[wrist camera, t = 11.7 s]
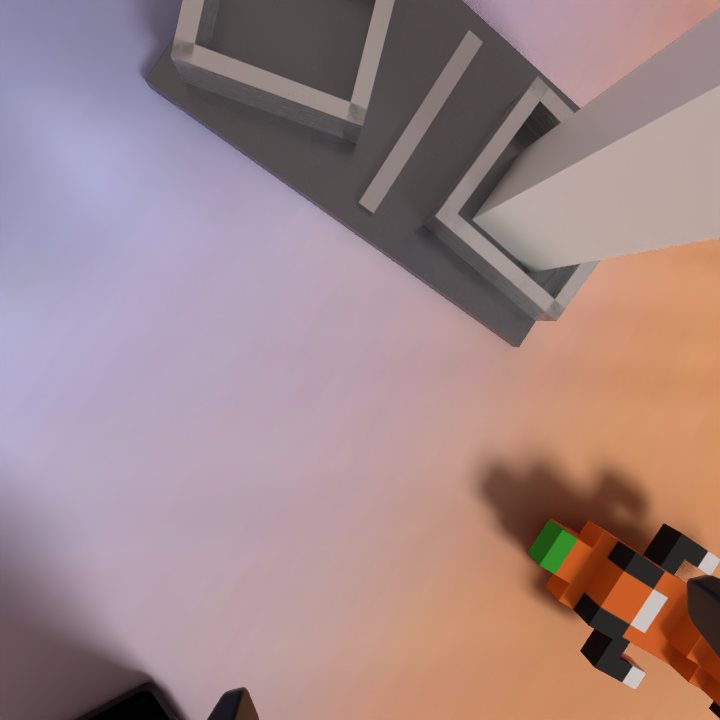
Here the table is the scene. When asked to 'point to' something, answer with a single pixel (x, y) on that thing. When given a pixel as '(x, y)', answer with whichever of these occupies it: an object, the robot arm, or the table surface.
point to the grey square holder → (546, 304)
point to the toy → (631, 600)
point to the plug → (621, 166)
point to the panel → (380, 125)
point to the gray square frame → (270, 88)
